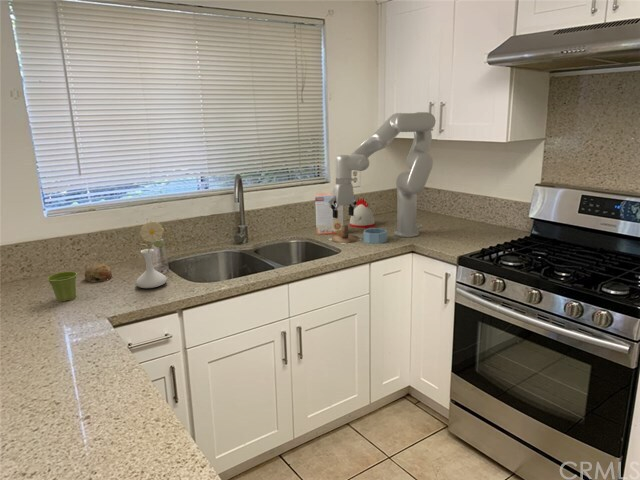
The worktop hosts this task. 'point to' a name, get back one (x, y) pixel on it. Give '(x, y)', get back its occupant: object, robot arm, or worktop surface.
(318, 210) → the cracker box
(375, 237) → the bowl
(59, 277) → the plant pot
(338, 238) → the lid
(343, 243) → the mat
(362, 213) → the kitchen timer
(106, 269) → the bread roll
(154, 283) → the flower in vase
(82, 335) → the worktop surface
